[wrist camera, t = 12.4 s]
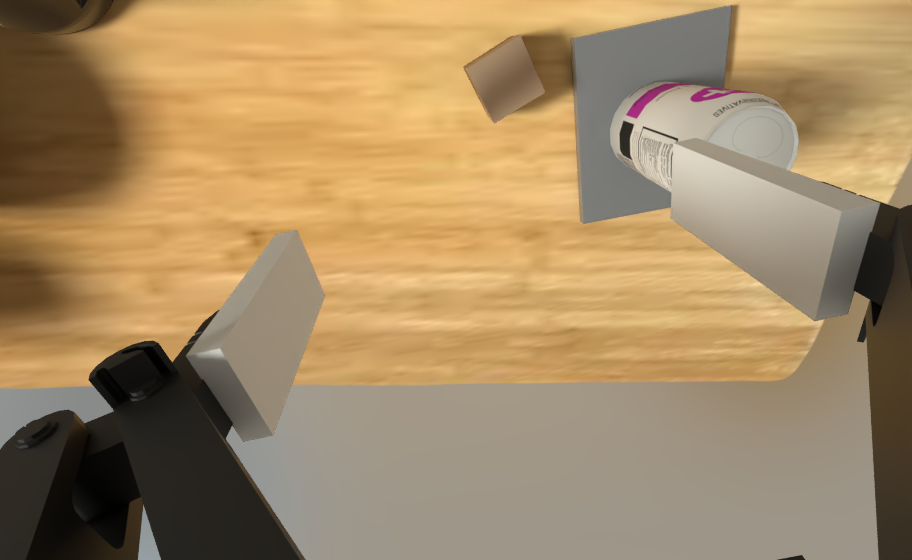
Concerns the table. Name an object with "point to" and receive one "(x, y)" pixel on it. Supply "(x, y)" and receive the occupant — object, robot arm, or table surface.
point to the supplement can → (698, 126)
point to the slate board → (615, 77)
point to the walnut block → (504, 78)
